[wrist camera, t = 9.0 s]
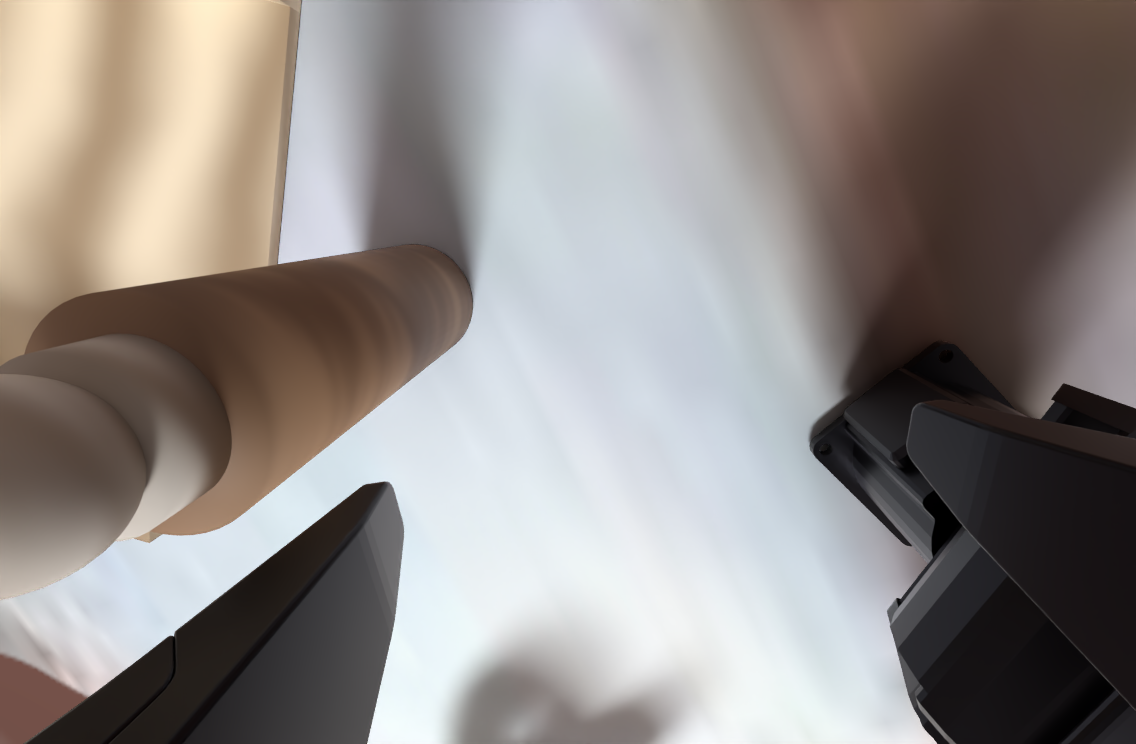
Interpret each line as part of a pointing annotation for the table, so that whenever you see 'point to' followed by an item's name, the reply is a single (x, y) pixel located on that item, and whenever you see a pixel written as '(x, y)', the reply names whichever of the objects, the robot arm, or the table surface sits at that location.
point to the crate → (137, 146)
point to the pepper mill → (202, 396)
